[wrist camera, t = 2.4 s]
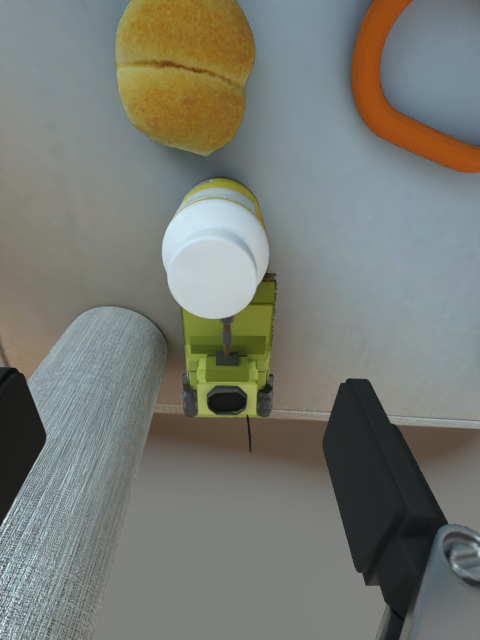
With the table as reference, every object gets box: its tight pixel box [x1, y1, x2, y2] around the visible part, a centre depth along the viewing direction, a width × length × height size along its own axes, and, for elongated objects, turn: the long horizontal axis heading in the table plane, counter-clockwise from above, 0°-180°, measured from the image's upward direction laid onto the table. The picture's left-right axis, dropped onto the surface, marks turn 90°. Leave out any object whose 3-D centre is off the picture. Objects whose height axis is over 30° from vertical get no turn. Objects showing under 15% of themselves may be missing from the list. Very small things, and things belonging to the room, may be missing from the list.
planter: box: [0, 306, 168, 640], centre depth 23 cm, size 10×10×27 cm
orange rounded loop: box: [351, 0, 480, 173], centre depth 21 cm, size 10×2×15 cm
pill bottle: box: [162, 177, 269, 319], centre depth 22 cm, size 6×6×12 cm
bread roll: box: [115, 0, 255, 156], centre depth 20 cm, size 8×9×4 cm
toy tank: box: [181, 273, 277, 452], centre depth 29 cm, size 8×15×10 cm, turn 179°
